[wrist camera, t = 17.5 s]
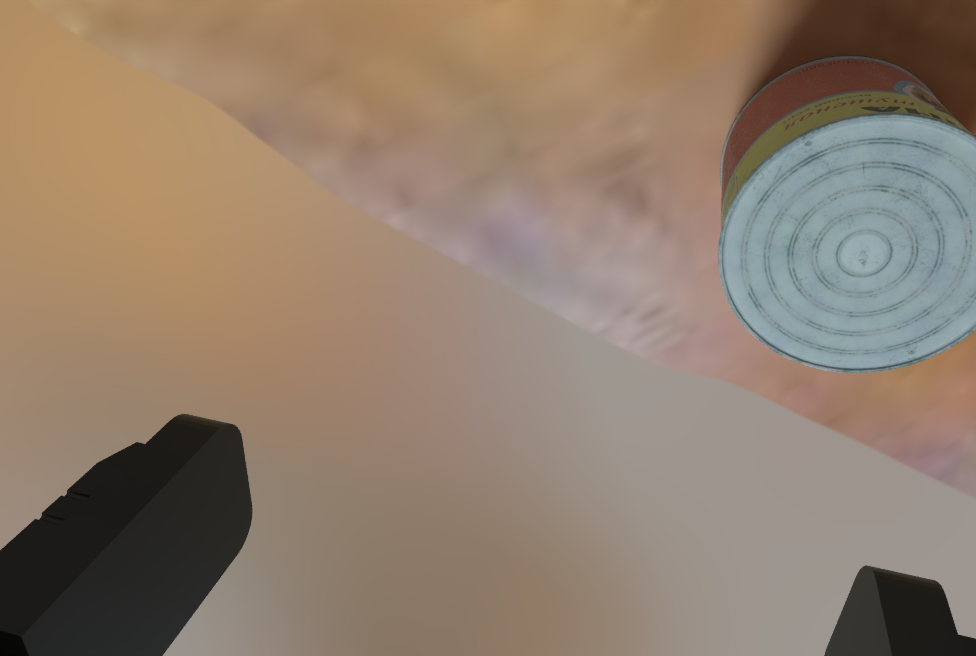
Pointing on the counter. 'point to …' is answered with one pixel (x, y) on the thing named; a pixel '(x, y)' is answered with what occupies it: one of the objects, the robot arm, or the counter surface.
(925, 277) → the canned food
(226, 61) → the counter surface
